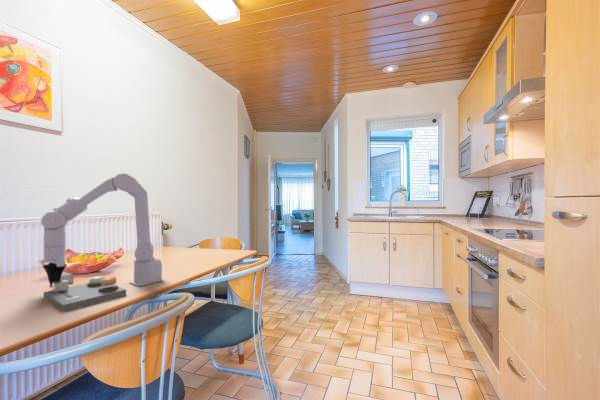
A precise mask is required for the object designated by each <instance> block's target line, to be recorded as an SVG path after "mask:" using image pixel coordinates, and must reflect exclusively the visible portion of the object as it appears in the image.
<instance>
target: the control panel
mask: <svg viewBox="0 0 600 400" xmlns="http://www.w3.org/2000/svg"><path fill="white" fill-rule="evenodd" d="M124 296H127V289H126V288H123V287H121V286H118V285H116V284H113V285H108V286H101V283H100V284H89V282H85V283H82V284H76V285H73V286H71V285H70V286H69V290H66V291H61V292H56V293H54V292H53V291H52V290H49V291H44V292H43V299H44V300H45V301H47V302H48V303H50V304H51V305H52V306H54V307H55V308H57V309H58V310H60V311H61V312H63V313H65V312H68V311H71V310H76V309H78V308H84V307H87V306H90V305H94V304H99V303H102V302H105V301H110V300H114V299H117V298H122V297H124Z"/></svg>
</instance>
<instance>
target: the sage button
mask: <svg viewBox="0 0 600 400" xmlns="http://www.w3.org/2000/svg"><path fill="white" fill-rule="evenodd" d="M103 278H105V276H104V275H97V276H92V277H89V278H88V279H89V280H88V281H89V282H88V283H89V284H100V283H101V279H103Z"/></svg>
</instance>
